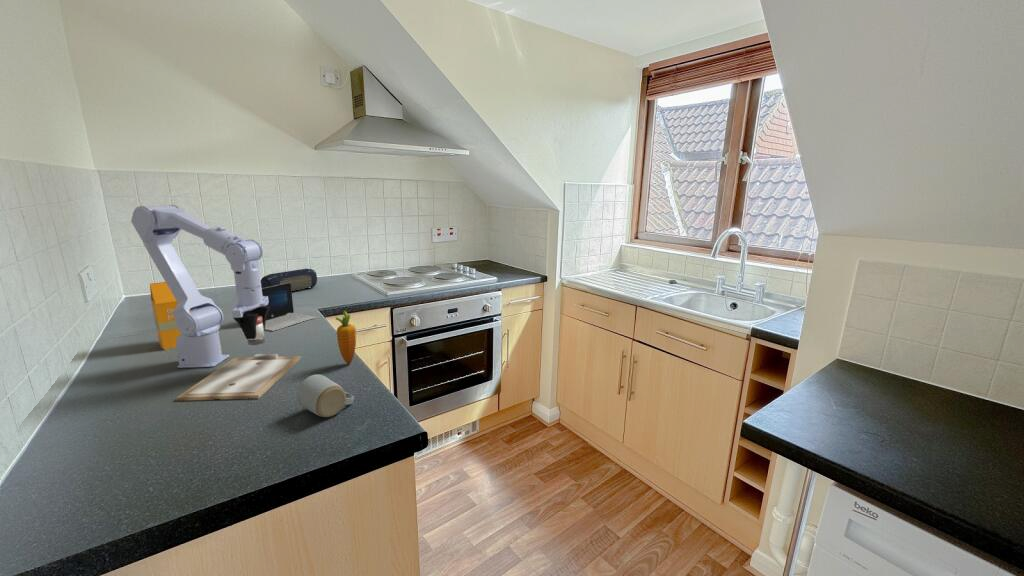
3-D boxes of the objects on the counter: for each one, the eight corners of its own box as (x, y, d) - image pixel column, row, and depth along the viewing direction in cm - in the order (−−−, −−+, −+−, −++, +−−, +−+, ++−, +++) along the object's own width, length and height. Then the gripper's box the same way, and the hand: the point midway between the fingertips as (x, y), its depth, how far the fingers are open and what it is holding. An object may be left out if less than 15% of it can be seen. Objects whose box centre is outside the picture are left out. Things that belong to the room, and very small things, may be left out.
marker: (244, 345, 113) (241, 320, 111) (252, 340, 117) (249, 315, 115) (260, 345, 113) (257, 319, 111) (268, 339, 117) (264, 315, 115)
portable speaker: (270, 298, 190) (268, 276, 187) (259, 295, 195) (256, 274, 193) (322, 288, 210) (320, 268, 208) (310, 285, 215) (308, 266, 213)
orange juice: (198, 343, 134) (188, 281, 129) (163, 350, 127) (151, 285, 123) (193, 337, 139) (183, 277, 134) (158, 344, 133) (147, 281, 128)
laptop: (272, 332, 145) (268, 295, 142) (249, 327, 150) (244, 291, 147) (316, 318, 161) (313, 285, 158) (293, 314, 166) (290, 282, 163)
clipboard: (177, 400, 97) (175, 393, 97) (235, 360, 120) (234, 354, 120) (258, 398, 98) (257, 391, 98) (300, 358, 122) (300, 352, 121)
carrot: (352, 368, 115) (347, 315, 112) (335, 367, 116) (330, 314, 113) (361, 361, 120) (358, 310, 117) (346, 360, 121) (341, 309, 118)
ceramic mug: (318, 425, 87) (315, 390, 86) (297, 413, 92) (294, 380, 90) (362, 405, 96) (360, 373, 94) (341, 395, 101) (338, 365, 99)
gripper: (250, 292, 104) (257, 344, 108) (277, 280, 119) (282, 327, 122) (220, 293, 104) (228, 345, 107) (251, 281, 118) (257, 327, 121)
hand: (255, 335), depth 114 cm, fingers closed on marker, 4 cm apart
